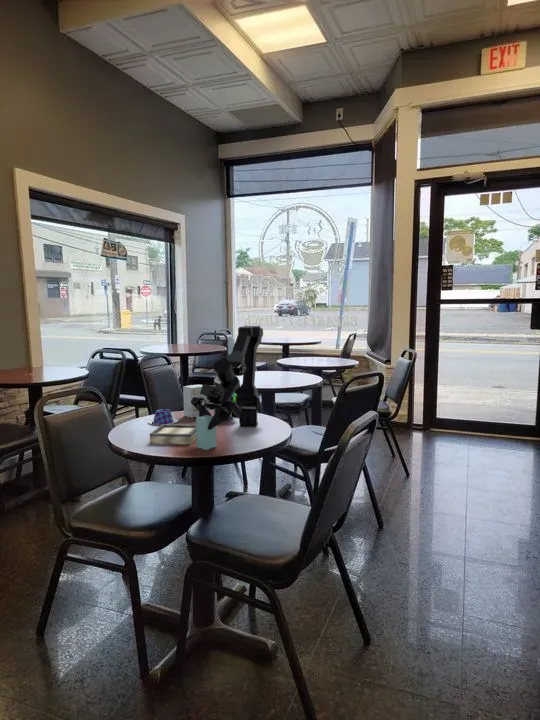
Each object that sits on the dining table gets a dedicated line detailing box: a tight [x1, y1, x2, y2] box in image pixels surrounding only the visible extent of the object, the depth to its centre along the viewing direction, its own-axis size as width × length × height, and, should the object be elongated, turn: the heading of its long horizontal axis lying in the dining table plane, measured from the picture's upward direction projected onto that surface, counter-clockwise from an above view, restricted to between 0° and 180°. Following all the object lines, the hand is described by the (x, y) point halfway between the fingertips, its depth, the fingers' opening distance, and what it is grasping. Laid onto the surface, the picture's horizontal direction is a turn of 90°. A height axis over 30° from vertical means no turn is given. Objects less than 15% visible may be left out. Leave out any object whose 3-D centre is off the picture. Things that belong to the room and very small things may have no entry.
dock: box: [149, 423, 197, 445], centre depth 165 cm, size 14×14×3 cm
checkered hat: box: [147, 408, 179, 426], centre depth 190 cm, size 12×12×5 cm
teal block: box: [195, 415, 217, 451], centre depth 154 cm, size 4×4×10 cm
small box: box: [182, 384, 208, 419], centre depth 201 cm, size 8×6×13 cm
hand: (203, 428), depth 152 cm, fingers closed on teal block, 4 cm apart
